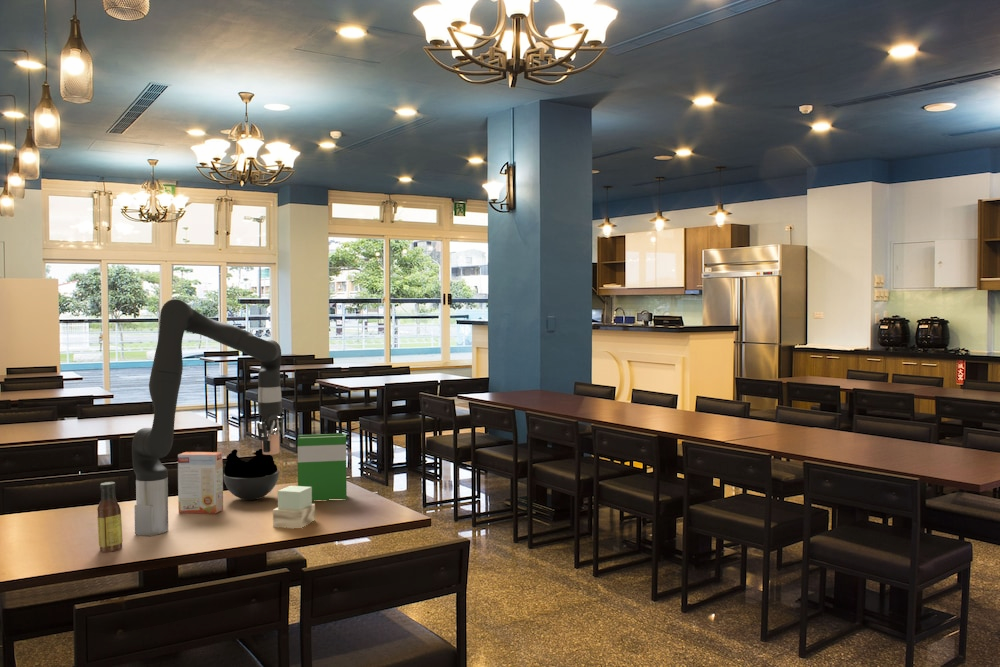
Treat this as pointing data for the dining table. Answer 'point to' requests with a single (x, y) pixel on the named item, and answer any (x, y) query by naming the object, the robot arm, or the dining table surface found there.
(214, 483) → the cracker box
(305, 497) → the sage block
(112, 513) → the sauce bottle
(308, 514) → the birch base block
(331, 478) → the hardback book
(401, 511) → the dining table surface
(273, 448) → the coral cylinder
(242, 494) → the bowl of black rocks
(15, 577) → the dining table surface
